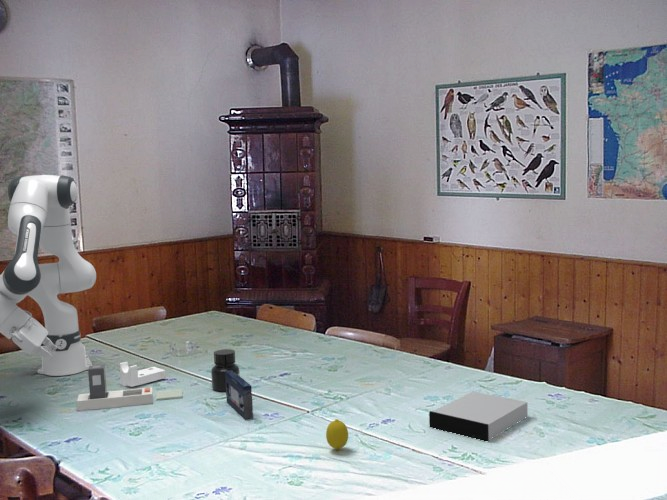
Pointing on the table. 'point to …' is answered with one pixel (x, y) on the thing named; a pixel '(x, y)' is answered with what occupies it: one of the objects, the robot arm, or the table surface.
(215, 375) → the ink bottle
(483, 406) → the disc drive
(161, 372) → the bracket
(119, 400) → the power strip
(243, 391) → the vhs cassette tape
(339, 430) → the lemon
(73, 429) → the table surface
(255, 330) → the table surface
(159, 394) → the felt pad
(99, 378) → the grey square pillar
